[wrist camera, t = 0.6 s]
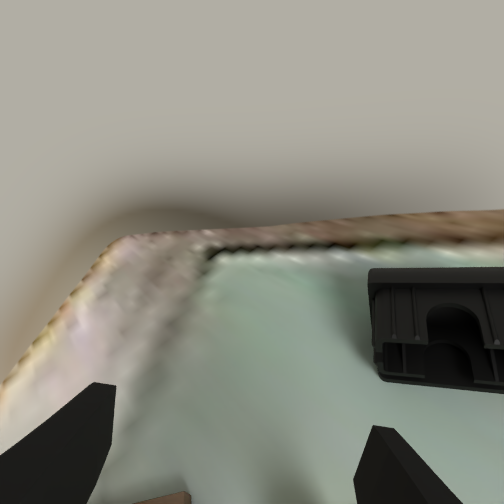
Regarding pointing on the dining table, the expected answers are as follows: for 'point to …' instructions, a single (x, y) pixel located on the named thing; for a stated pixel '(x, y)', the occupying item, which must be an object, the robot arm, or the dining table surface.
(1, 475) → the robot arm
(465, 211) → the dining table surface
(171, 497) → the post board
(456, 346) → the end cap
